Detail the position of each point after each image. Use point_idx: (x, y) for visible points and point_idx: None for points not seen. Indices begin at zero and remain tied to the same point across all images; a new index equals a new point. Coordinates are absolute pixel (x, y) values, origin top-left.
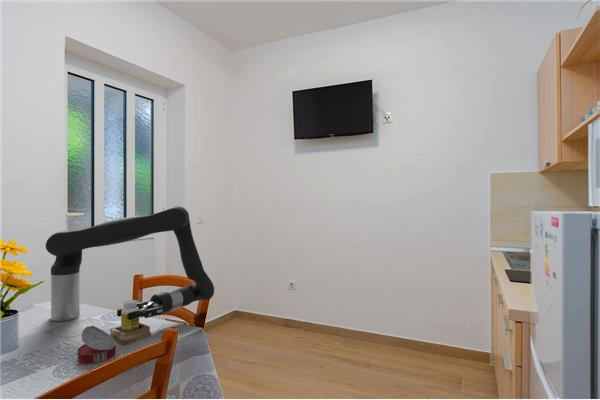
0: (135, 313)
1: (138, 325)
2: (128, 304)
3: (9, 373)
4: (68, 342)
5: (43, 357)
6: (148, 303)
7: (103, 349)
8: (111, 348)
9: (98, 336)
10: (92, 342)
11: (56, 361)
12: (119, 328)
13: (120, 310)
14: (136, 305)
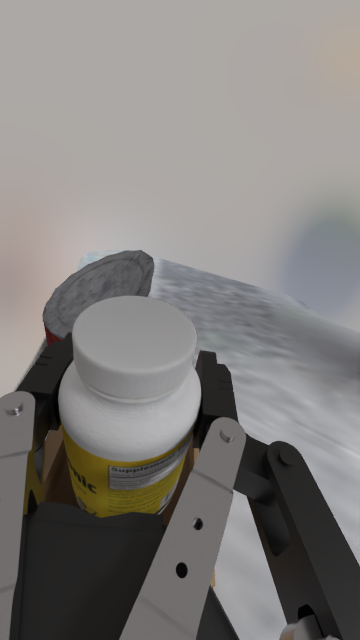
0: (41, 365)
1: (72, 483)
2: (109, 304)
3: (194, 270)
4: (275, 359)
5: (218, 304)
6: (7, 587)
7: (54, 294)
8: (43, 313)
9: (112, 294)
10: (93, 275)
11: (172, 301)
12: (192, 442)
13: (200, 362)
14: (80, 376)
